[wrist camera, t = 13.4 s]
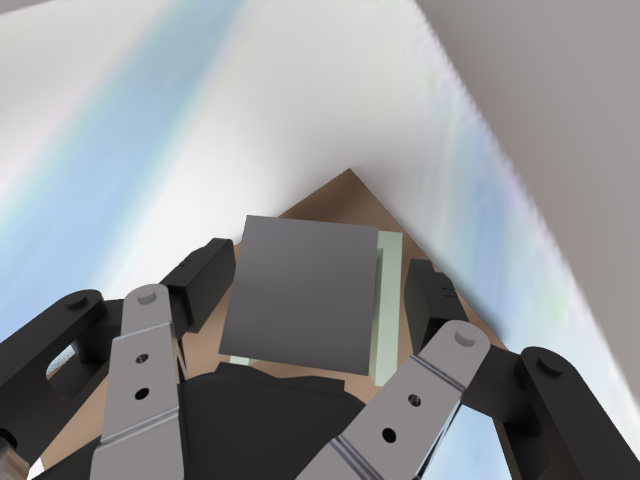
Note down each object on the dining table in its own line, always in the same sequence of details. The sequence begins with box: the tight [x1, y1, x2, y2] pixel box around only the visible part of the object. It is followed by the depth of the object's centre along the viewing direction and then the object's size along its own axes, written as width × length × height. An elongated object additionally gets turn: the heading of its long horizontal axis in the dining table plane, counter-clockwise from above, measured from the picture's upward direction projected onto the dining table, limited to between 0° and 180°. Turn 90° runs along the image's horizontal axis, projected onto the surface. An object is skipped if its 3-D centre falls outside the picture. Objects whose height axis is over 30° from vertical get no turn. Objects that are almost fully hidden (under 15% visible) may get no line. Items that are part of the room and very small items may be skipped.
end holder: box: [230, 231, 403, 386], centre depth 17 cm, size 8×8×4 cm
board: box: [40, 168, 509, 471], centre depth 18 cm, size 16×27×1 cm, turn 126°
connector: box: [218, 215, 379, 376], centre depth 14 cm, size 4×4×10 cm
